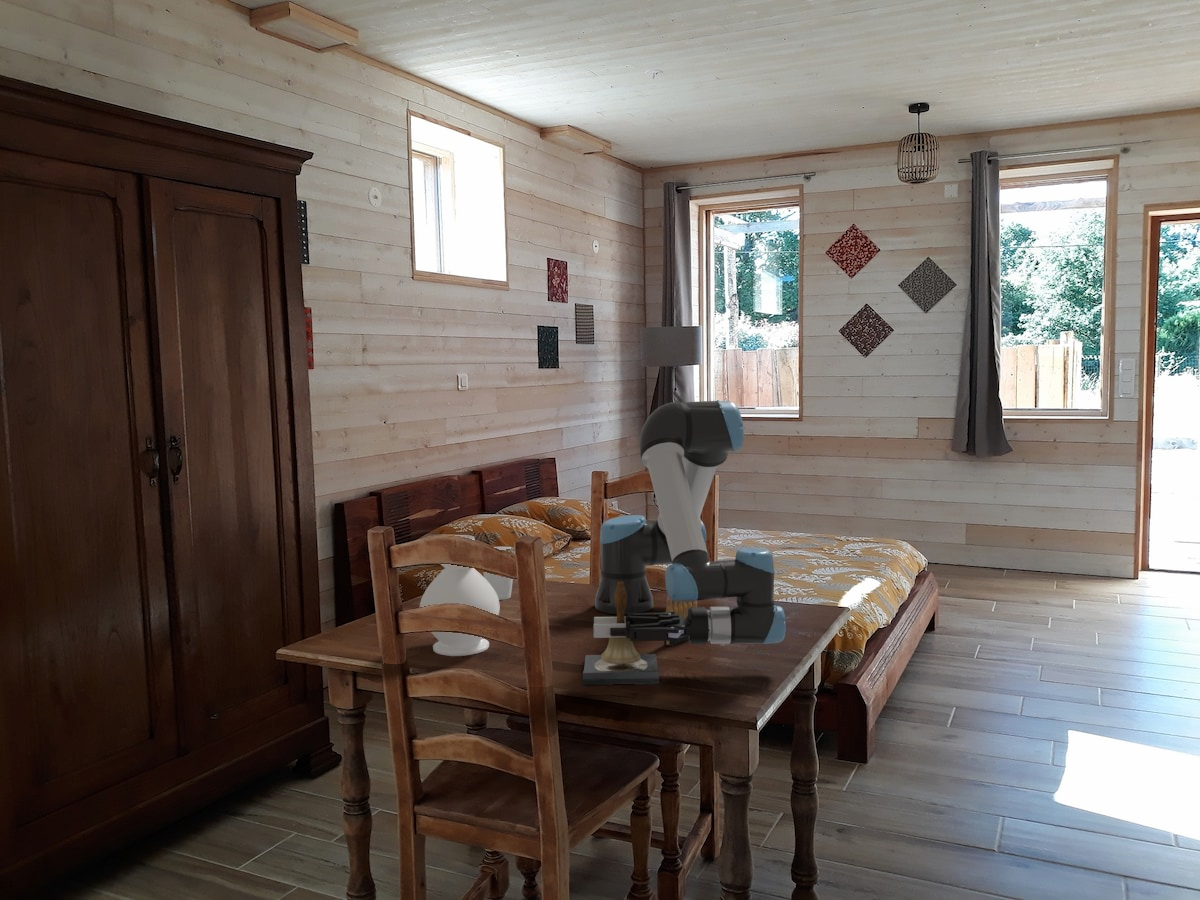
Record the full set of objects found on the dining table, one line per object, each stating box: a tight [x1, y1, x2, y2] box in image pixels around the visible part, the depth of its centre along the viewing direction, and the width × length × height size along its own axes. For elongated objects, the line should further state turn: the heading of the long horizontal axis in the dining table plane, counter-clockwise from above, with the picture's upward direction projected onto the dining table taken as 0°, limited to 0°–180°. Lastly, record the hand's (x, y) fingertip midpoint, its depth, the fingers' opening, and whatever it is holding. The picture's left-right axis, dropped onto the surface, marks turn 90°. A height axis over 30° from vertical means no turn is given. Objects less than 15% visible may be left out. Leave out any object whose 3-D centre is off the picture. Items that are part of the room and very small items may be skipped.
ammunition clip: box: [663, 595, 698, 647], centre depth 211 cm, size 11×2×12 cm, turn 136°
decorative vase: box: [419, 534, 501, 657], centre depth 208 cm, size 18×18×25 cm
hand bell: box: [600, 581, 641, 664], centre depth 190 cm, size 8×8×16 cm
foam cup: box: [482, 546, 514, 601], centre depth 253 cm, size 10×9×13 cm
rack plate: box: [582, 653, 660, 686], centre depth 191 cm, size 15×15×2 cm
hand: (594, 627), depth 191 cm, fingers closed on hand bell, 4 cm apart
